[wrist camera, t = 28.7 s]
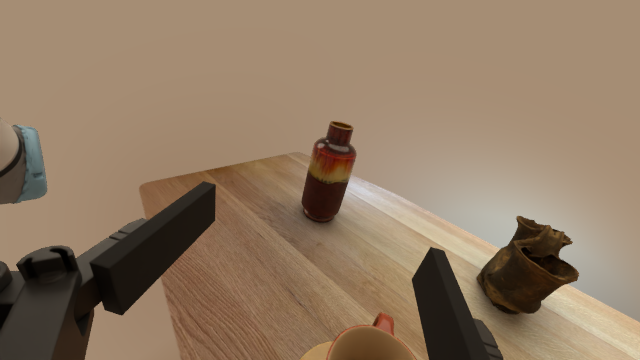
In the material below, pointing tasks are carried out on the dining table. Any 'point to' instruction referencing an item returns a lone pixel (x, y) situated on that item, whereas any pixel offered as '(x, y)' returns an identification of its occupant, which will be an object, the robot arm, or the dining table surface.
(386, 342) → the mug
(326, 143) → the vase
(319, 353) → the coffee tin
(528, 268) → the pottery vessel
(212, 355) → the dining table surface
